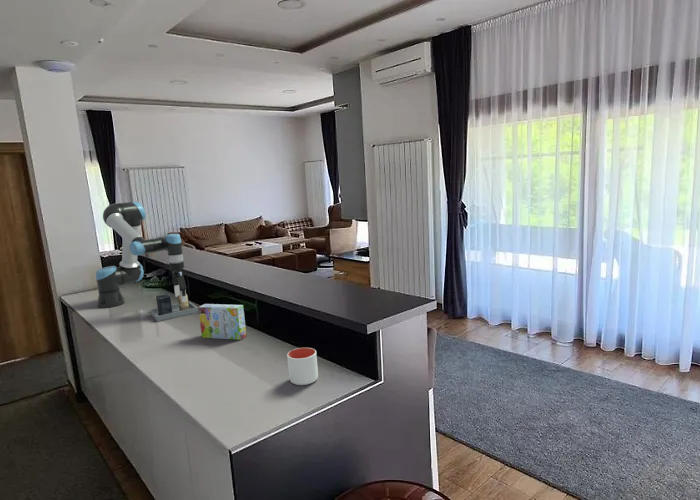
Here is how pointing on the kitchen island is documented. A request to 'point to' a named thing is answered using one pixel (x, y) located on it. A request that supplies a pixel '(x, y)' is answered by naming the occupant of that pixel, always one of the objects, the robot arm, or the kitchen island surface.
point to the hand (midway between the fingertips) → (181, 298)
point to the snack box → (222, 321)
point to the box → (164, 304)
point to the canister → (183, 303)
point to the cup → (302, 366)
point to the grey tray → (174, 312)
